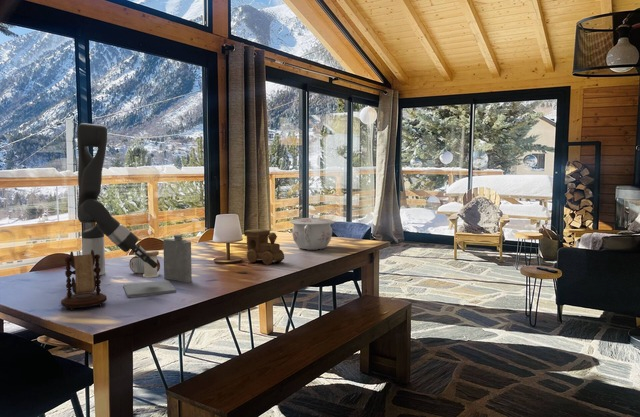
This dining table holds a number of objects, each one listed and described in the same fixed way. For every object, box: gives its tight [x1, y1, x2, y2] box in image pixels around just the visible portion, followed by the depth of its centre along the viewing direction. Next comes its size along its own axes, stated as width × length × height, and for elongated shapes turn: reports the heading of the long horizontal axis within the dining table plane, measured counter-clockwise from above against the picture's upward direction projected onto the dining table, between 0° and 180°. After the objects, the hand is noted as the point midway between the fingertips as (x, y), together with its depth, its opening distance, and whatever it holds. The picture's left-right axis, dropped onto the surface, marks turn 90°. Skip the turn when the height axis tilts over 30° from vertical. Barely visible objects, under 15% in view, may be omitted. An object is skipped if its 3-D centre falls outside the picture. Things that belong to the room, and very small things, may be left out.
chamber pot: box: [289, 214, 335, 251], centre depth 299 cm, size 28×28×21 cm
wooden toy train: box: [243, 228, 285, 266], centre depth 255 cm, size 20×11×17 cm, turn 56°
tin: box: [129, 255, 161, 275], centre depth 227 cm, size 15×3×8 cm, turn 74°
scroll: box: [60, 250, 108, 312], centre depth 174 cm, size 15×15×20 cm
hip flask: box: [162, 234, 193, 284], centre depth 215 cm, size 16×4×20 cm, turn 58°
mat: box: [122, 279, 177, 298], centre depth 198 cm, size 18×18×1 cm
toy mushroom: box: [142, 250, 160, 279], centre depth 200 cm, size 6×6×10 cm
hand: (155, 265), depth 200 cm, fingers closed on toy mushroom, 5 cm apart
